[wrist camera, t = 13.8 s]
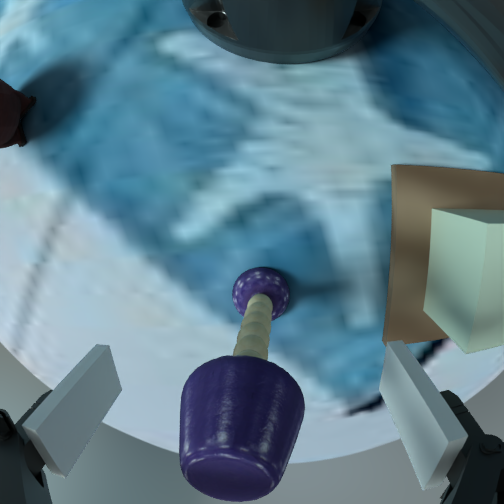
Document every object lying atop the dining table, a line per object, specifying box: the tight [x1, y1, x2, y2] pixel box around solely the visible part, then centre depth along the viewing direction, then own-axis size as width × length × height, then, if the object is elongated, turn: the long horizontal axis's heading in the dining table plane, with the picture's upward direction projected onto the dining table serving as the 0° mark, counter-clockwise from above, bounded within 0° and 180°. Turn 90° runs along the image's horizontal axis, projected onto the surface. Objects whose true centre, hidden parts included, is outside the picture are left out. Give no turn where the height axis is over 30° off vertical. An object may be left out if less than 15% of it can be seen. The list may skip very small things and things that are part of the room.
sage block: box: [423, 208, 504, 354], centre depth 17 cm, size 8×8×7 cm
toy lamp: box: [179, 267, 305, 502], centre depth 15 cm, size 5×5×17 cm
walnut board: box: [382, 165, 504, 346], centre depth 21 cm, size 14×14×1 cm
